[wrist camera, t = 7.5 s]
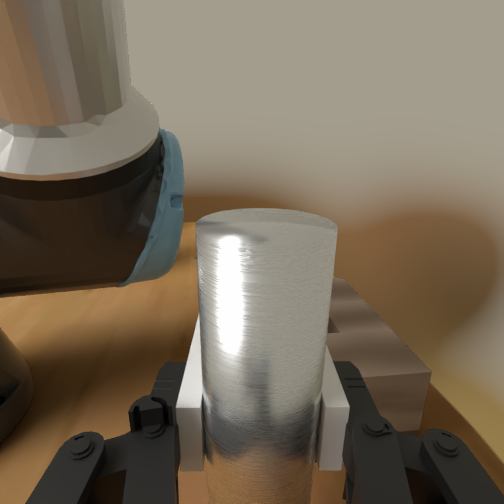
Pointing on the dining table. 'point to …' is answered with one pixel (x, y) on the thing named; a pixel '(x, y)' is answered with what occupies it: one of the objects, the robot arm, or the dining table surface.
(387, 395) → the socket block
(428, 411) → the dining table surface
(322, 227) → the steel pin
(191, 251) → the dining table surface
